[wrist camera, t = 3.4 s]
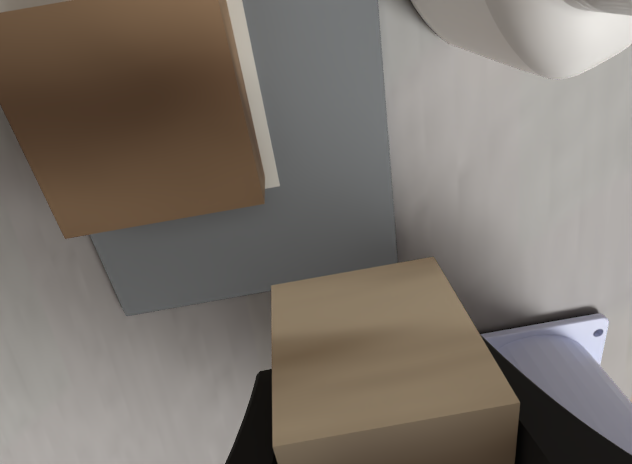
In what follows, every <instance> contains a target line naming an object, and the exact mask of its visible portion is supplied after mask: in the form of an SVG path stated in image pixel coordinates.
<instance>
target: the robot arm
mask: <svg viewBox="0 0 632 464" xmlns="http://www.w3.org/2000/svg"><path fill="white" fill-rule="evenodd" d="M608 325H609V320H608V319H607V318H606V317H605V316H604V315H603V314H592V315H586V316H581V317H575V318H569V319H564V320H558V321H552V322H547V323H541V324H535V325H530V326H524V327H518V328H513V329H507V330H501V331H496V332H490V333H484V334H480V336H481V337H482V339H483V341H484V342H485V344H486V346H487V347H488V349H489V351H490V353H491V354H492V356H493V358H494V359H495V361H496V363H497V364H498V366H499V368H500V369H501V371H502V373H503V374H504V376H505V378H506V379H507V381H508V383H509V385H510V386H511V388H512V390H513V391H514V393H515V395H516V396H517V398H518V400H519V401H520V410H519V421H518V432H517V443H516V454H515V464H632V403H631V401H630V400H629V399H628V398H627V397H626V396H625V394H624V393H623V392H622V391H621V390H620V388H619V387H618V386H617V385H616V384H615V383H614V381H613V380H612V379H611V378H610V377H609V376H608V374H607V373H606V372H605V371H604V370H603V369H602V367H601V366H600V364H601V359H602V354H603V349H604V344H605V339H606V334H607V329H608ZM225 464H278V463H277V460H276V457H275V453H274V450H273V441H272V369H270V370H264V371H260V372H259V373H258V374H257V376H256V380H255V384H254V388H253V391H252V395H251V398H250V401H249V404H248V407H247V410H246V413H245V416H244V419H243V421H242V424H241V426H240V429H239V432H238V434H237V437H236V439H235V442H234V445H233V447H232V449H231V452H230V454H229V456H228V458H227V461H226V463H225Z"/></svg>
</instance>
